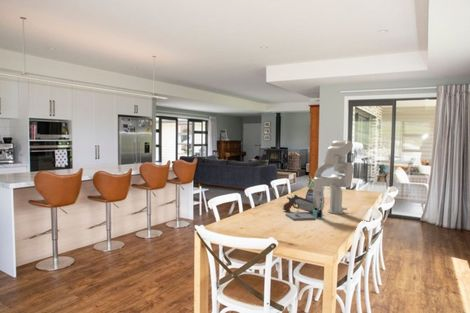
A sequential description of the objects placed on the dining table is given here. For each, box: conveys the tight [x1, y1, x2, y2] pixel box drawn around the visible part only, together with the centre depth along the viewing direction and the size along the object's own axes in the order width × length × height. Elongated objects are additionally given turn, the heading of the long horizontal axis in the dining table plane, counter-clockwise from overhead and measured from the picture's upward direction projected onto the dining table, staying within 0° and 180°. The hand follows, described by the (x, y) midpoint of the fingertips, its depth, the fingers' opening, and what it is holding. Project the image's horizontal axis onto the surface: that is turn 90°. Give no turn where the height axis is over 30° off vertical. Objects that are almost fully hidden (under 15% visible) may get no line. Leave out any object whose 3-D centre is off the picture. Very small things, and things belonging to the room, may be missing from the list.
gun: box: [282, 194, 318, 214], centre depth 274 cm, size 5×27×15 cm, turn 78°
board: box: [285, 209, 317, 221], centre depth 255 cm, size 18×16×6 cm
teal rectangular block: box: [312, 210, 323, 219], centre depth 257 cm, size 6×6×5 cm
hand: (317, 216), depth 258 cm, fingers closed on teal rectangular block, 5 cm apart
